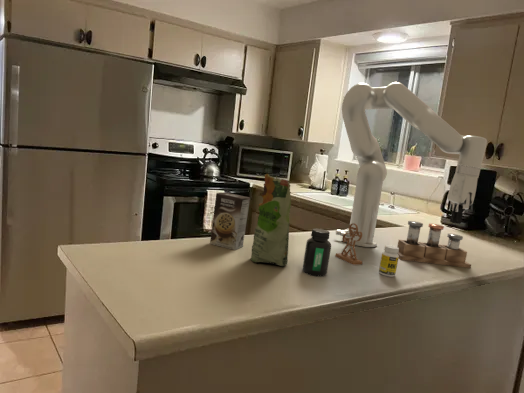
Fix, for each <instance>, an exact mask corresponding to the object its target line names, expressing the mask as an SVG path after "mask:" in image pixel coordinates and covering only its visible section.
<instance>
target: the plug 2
mask: <svg viewBox="0 0 524 393" xmlns="http://www.w3.org/2000/svg"><path fill="white" fill-rule="evenodd" d="M447 238H448V241H447V244H446V245H447V248H448V249H453V250H459V248H460V245H461V241H462V240H463V239H464V236H463V235H459V234H455V233H447Z"/></svg>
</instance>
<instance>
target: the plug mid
mask: <svg viewBox="0 0 524 393" xmlns="http://www.w3.org/2000/svg"><path fill="white" fill-rule="evenodd" d="M428 228H429V229H428V230H429V232H428V236H427V241H426V243H427V246H429V247H436V248H438V245H440V238H441V234H442V230H444V228H445V226H444V225H441V224H436V223H428Z"/></svg>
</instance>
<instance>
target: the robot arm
mask: <svg viewBox="0 0 524 393" xmlns="http://www.w3.org/2000/svg"><path fill="white" fill-rule="evenodd" d="M345 93H346V94H345V95H344V96H343V99H342V102H341V114H342V119H343V122H344V127H345V130H346V134H347V137H348V141H349V146H350V148H351V152H352V154H353V155H354V156H355V157H356V159H357V162H358V164H359V168H358V169H357V172H356V180H355V191H354V196H353V197H354V198H353V203H352V207H351V208H352V209H351V216H350V222H349V225H350V224H352V223H355V224H356V225H357V226H358V232H362V238H361V240H360V241H357V240H358V239H359V238H360V237H358V236H355V238H353V241H354V240H356V241H355V246H357V247H364V248H375V247H377V245H378V244H377V243H378V242H377V241H375V240H374V237H375V231H376V226H377V221H378V216H379V215H378V214H379V210H380V203H381V195H382V190H383V183H384V181H385V180H386V177H387V174H388V173H387V172H388V171H387V167H386V163H385V160H384V157H383V153H382V151H381V147H380V145H379V142H378V140H377V138H376V137H375V136H374V135H373V133H372V131H371V127H370V124H369V120H368V117H367V114H366V111H367V110H369V111H370V110H371V111H372V110H390V109H393V110H394V111H395V112H396V113H397V114H398V115H399V116H400V117H402V119H404V120H405V121H406V122H408V124H409V125H411V126H412V127H413V128H415V129H416V130H418V131H420V132H421V133H422V134H424V135H425V136H426V137H427V138H428V139H429V140H431V142H433V143H434V145H436V146H437V147H438V148H439V150H440V151H441V152H443V153H445V154H449V155H451V154H452V155H459V156H458V161H457V165H456V168H455V173H454V175H453V178H452V179H451V183H450V186H449V190H448V194H447V201H449V202H450V204H451V205H452V208H451V210H452V211H451V214H450V215H451V216H450V220H449V222H450V223H452V224H459V225H460V224H461V223H462V220H463V216H464V214H465V211H466V210H469V208H470V206H472V205H473V203H474V200H475V197H476V192H477V186H478V179H479V178H480V177H479V176H480V173H481V168H482V164H483V161H484V157H485V154H486V153H485V152H486V148H487V144H488V140H487V138H485V137H482V136H477V135H463V134H460V133H459V132H458V130H456V129H455V128H454V127H452V126H451V125H450V124H449V123H448V122H447V121H446V120H445V119H443V118H442V117H441V116H440V115H438V114H437V112H435V111H434V110H433V109H432V108H431V107H430V106H429V105H428V104H426V103H425V102H424V101H423V100H422V99H421V98H420V97H419V96H417V95H416V94H415V93H414V92H412V91H411V90H410V89H409V88H408V87H407V86H406V85H404V84H403V83H401V82H399V81H398V82H397V81H394V82H391V83H388V84H387V86H379V87H377V86H376V87H375V86H374V87H372V86H371V85H370V84H368V83H366V82H359V83H356V84H354V85H353V86H351V87H350V88H349V90H347V92H345ZM351 227H354V228H356V226H355V225H354V224H353V225H352V226H351ZM351 230H352V231H353V232H354V231H356V230H353V229H351ZM345 233H348V234H346V235H345V237H346V238H352V237H350V234H349V233H350V232H349V227H348V228H346V229H344V230H343V229H342V230H341V229H336V230H335V235H337V236H342V237H343V235H344V234H345ZM359 234H360V233H359ZM356 235H357V234H356ZM344 240H345V239H344ZM345 241H346V240H345ZM350 241H351V239H350V240H349V243H350ZM353 241H352V242H353ZM350 244H351V243H350ZM352 245H353V243H352Z"/></svg>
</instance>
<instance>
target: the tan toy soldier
mask: <svg viewBox="0 0 524 393" xmlns="http://www.w3.org/2000/svg"><path fill="white" fill-rule="evenodd" d="M353 224H354V225H355V226H356V228H354V227H351V226H352V225H353ZM348 228H349V232H350V233H349V234H350V237H352V238H346V237H345V235H346V234H348V233H345V234H344V235H343V236H342V239H341V240H342V242H343V243H346V245H345V247H344V248H343V249H342V251H341V252H337V253H335V255H334V256H335V257H336V258H338V259H339V260H340V259H341V261H344V262H347V264H348V263H349V264H350V265H353V266H357V265H362V264H363V261H362V260H361V259H358V257H357V253H356V248H355V246H356V245H355V241H356V240H354V241H353V238H355V236H358V237H360V238H359V239H358V240H357V241H360V240H361V238H362V232H358V226H357V225H356V224H355V223H352V224H350V223H349V227H348ZM351 229H353V230H356V231H354V232H353V231H352V230H351ZM359 233H360V234H359ZM356 234H357V235H356ZM344 239H345V240H346V241H345V240H344ZM350 239H351V241H350V243H351V244H350V243H349V240H350ZM352 241H353V242H352ZM352 243H353V244H352ZM348 246H349V248H348ZM351 247H352V248H351ZM347 248H348V250H347ZM346 250H347V251H346ZM352 250H353V251H352Z"/></svg>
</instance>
